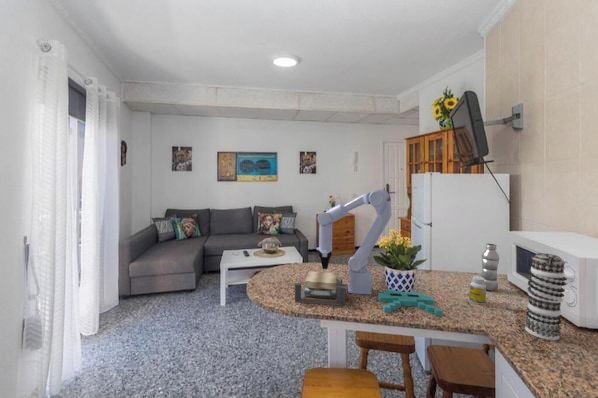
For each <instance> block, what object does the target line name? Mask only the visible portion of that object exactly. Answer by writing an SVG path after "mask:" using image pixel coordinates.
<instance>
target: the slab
mask: <svg viewBox="0 0 598 398" xmlns="http://www.w3.org/2000/svg"><path fill="white" fill-rule="evenodd" d="M337 275H338V274H337V272H326V271H311V270H310V271H309V270H308V271H307V275H306V278H305V280H304V284H305V287H306V288H320V289H333V290H336V278H338V276H337Z"/></svg>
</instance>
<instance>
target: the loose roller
mask: <svg viewBox="0 0 598 398" xmlns="http://www.w3.org/2000/svg"><path fill="white" fill-rule="evenodd" d="M305 297H311V298H324V299H336V290H333V289H320V288H306V287H305Z"/></svg>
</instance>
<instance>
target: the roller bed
mask: <svg viewBox="0 0 598 398" xmlns="http://www.w3.org/2000/svg"><path fill="white" fill-rule="evenodd" d="M294 287H295V289H294V302H298V303H303V304H304V303H305V304H317V305H331V306H346V285H345V286H344V285H342V278H338V277H337V278H336V299H324V298H311V297H305V283H304V284H303V287H302V283H301V282H296V283H295V285H294Z"/></svg>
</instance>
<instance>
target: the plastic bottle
mask: <svg viewBox="0 0 598 398" xmlns="http://www.w3.org/2000/svg"><path fill="white" fill-rule="evenodd" d="M497 250H498V249H497V244H496V243H486V245H485V250H484V251H483V252H482V253H481V264H482V265H481V266H482V267H481V270H482V271H481V276H480V277H483V278H484V279H485V282H484V284H485V285H486V291H493V292H494V291H496V290H497V289H498V288H499V283H498V267H499V261H500V255H499V253H498V252H497Z"/></svg>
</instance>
